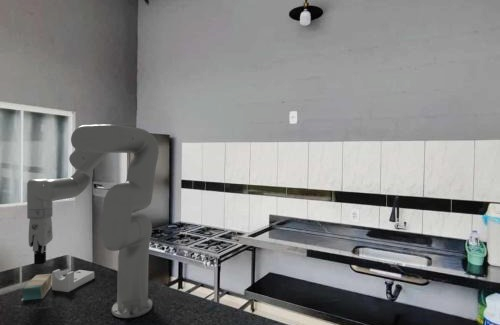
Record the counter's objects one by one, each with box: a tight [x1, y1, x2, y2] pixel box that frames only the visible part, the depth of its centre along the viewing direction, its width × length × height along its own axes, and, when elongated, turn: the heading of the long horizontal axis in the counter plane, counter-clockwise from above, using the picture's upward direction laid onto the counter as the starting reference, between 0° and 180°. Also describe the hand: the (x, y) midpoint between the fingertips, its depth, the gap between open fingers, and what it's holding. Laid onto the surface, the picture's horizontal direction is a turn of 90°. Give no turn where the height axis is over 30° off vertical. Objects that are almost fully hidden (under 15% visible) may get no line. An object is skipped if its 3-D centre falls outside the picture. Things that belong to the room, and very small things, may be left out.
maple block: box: [22, 273, 52, 301], centre depth 109 cm, size 4×5×12 cm
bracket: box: [51, 268, 95, 293], centre depth 117 cm, size 13×7×8 cm, turn 167°
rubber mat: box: [20, 276, 52, 301], centre depth 113 cm, size 19×6×1 cm, turn 18°
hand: (40, 263), depth 110 cm, fingers closed
